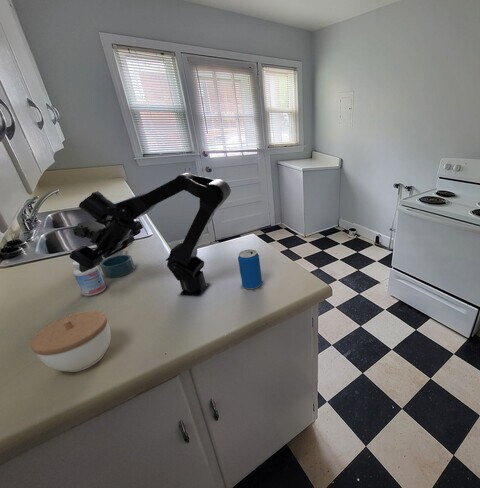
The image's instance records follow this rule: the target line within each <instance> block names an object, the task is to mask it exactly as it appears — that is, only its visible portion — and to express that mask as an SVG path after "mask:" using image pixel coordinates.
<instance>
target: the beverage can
mask: <svg viewBox="0 0 480 488" xmlns="http://www.w3.org/2000/svg"><path fill="white" fill-rule="evenodd" d="M237 260H238V267H239V273H240V279H241V280H240V281H241V285H242V287H243V288H245V289H247V290H255V289H258V288H259V287H260V286H261V285H262V284H263V278H262V277H263V276H262V270H261V261H260V255H259V253H258V251H257V250H256V249H249V248H248V249H243V250H242V251H240V252H238V257H237Z"/></svg>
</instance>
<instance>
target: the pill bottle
mask: <svg viewBox="0 0 480 488" xmlns="http://www.w3.org/2000/svg"><path fill="white" fill-rule="evenodd" d="M72 266H73V268H74V269H73V272H72V273H73V276H74V279H75V280H76V282H77V286H78V287H79V290H80V292H81V294H82V295H83V296H86V297H87V296H88V297H92V296H96V295H98V294H100V293H102V292H104V291H105V290H106V288H107V287H106V284H105V281H104V279H103V277H102V274H101V271H100V269H99V266H96V267H94V268H93V269H90V270H87V271H85V272H83V273H82V272H81V271H79V263H77V262H76V261H74V260H73V262H72Z"/></svg>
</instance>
